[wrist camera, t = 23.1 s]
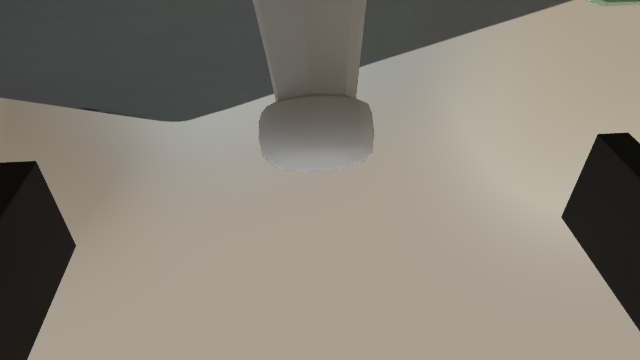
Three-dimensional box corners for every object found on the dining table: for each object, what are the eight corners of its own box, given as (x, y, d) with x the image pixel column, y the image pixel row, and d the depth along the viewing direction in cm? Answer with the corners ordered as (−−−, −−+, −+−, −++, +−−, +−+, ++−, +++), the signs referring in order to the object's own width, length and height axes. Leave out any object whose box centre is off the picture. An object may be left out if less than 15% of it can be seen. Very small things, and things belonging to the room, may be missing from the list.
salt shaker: (372, -112, 22) (393, 172, 20) (249, -96, 22) (261, 181, 21) (372, -235, 16) (401, 151, 15) (205, -208, 16) (219, 164, 15)
